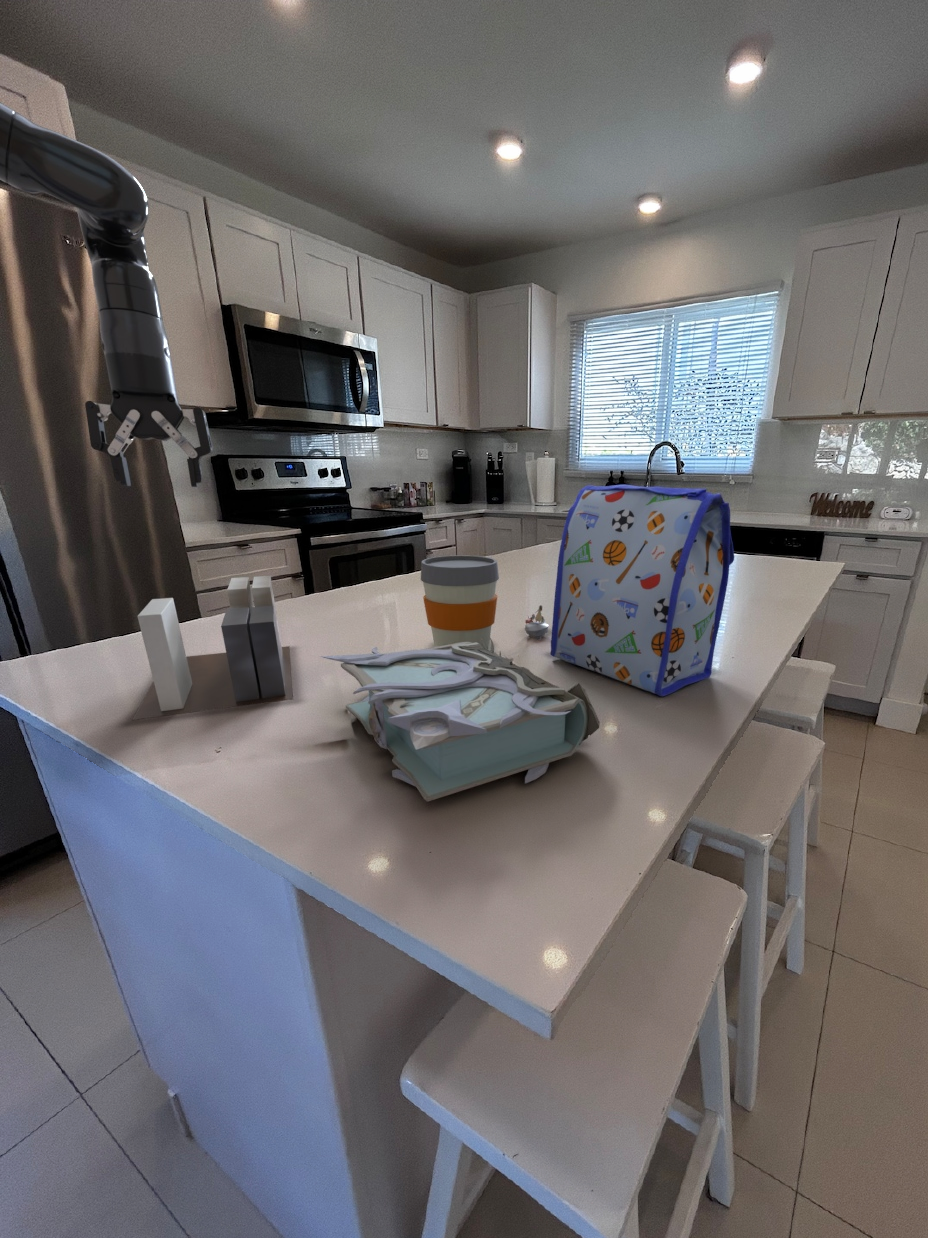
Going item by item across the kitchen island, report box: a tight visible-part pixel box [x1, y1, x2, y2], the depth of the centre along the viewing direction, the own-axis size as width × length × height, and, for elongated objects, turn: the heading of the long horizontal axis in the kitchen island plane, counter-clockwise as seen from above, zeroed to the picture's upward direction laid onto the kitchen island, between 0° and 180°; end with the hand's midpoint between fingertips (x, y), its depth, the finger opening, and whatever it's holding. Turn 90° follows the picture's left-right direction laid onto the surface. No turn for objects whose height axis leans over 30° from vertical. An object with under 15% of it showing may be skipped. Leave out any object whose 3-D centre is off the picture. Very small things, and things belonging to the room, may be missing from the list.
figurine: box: [524, 604, 550, 641], centre depth 102 cm, size 5×4×6 cm
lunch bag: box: [550, 484, 735, 697], centre depth 83 cm, size 23×17×27 cm
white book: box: [137, 597, 192, 711], centre depth 71 cm, size 2×9×12 cm, turn 22°
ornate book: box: [318, 635, 601, 803], centre depth 65 cm, size 23×10×30 cm
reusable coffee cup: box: [420, 554, 500, 651], centre depth 93 cm, size 13×13×15 cm
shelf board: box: [132, 575, 295, 721], centre depth 78 cm, size 18×24×13 cm
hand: (161, 486), depth 80 cm, fingers open, 8 cm apart
